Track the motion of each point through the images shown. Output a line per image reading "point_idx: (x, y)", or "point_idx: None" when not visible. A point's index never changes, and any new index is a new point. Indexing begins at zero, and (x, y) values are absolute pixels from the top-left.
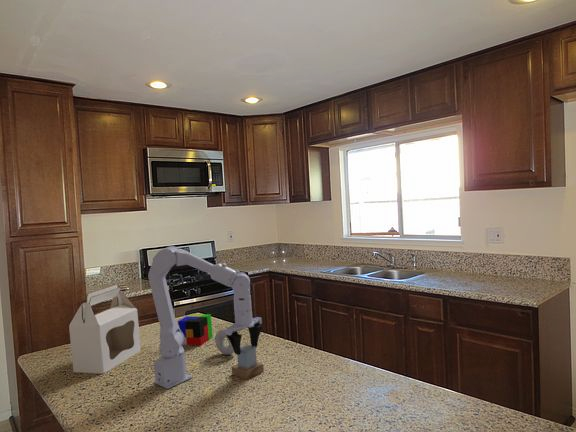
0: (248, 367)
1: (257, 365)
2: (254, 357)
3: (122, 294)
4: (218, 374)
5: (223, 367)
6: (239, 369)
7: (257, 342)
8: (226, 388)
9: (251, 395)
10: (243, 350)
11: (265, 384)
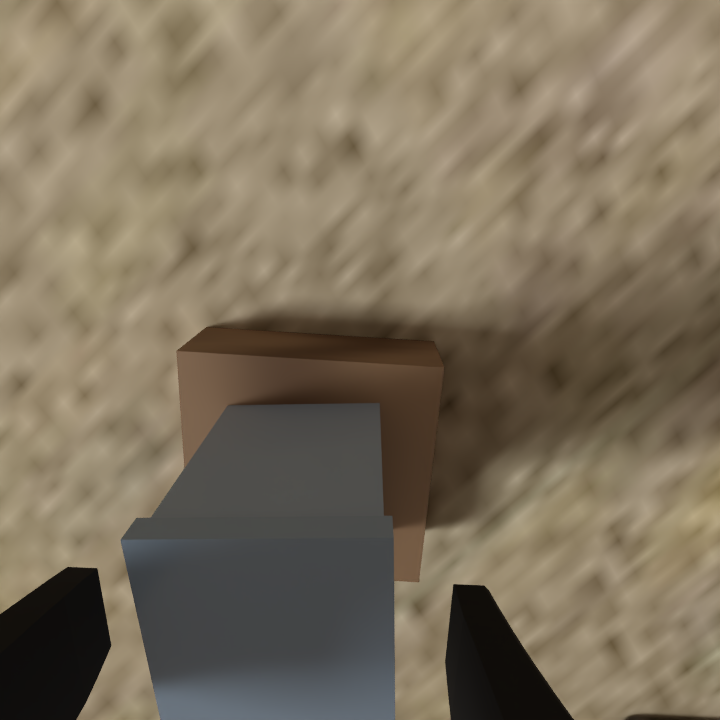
0: (364, 410)
1: (243, 379)
2: (232, 450)
3: None
4: None
5: None
6: (427, 475)
7: (4, 615)
8: (660, 377)
9: (696, 25)
10: (377, 609)
11: (415, 83)
